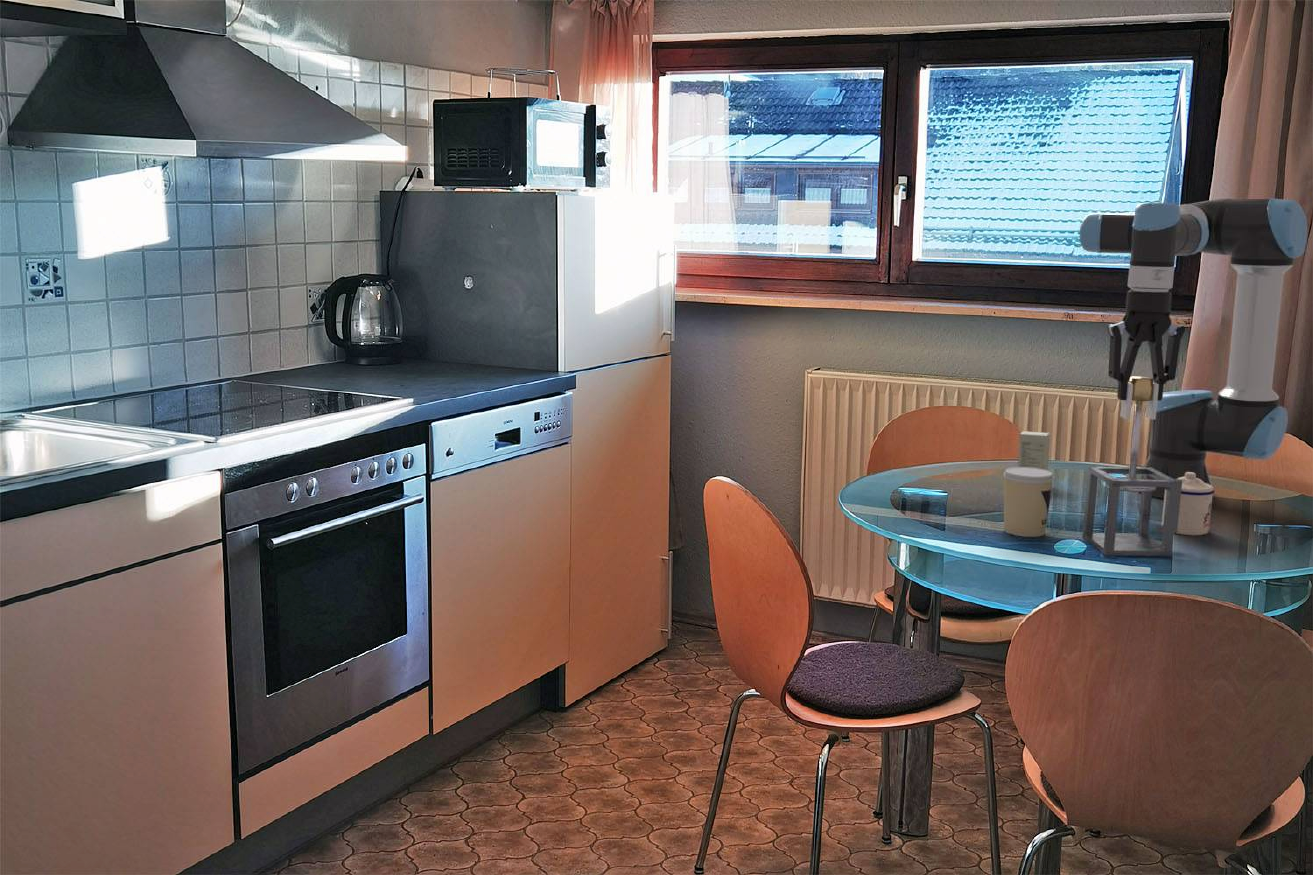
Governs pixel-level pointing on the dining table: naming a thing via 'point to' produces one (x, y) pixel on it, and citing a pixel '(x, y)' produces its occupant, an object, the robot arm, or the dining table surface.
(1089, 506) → the press frame
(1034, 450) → the skincare box
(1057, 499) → the dining table surface
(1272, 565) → the dining table surface
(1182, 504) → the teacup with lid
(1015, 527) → the cream lidded tub
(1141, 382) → the plunger
